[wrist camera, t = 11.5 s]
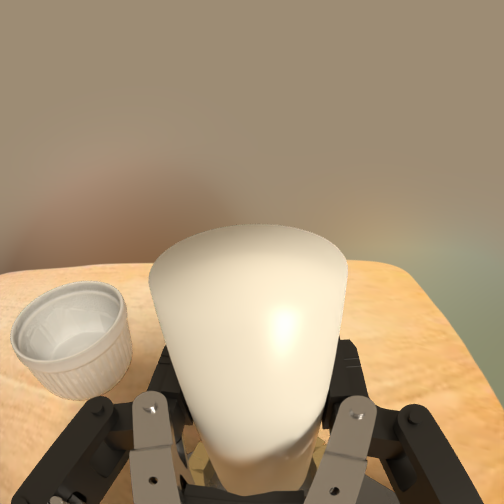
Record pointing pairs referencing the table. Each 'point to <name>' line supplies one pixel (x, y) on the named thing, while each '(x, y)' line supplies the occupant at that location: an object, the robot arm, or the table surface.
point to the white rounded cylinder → (253, 345)
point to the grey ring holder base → (369, 498)
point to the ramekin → (75, 339)
